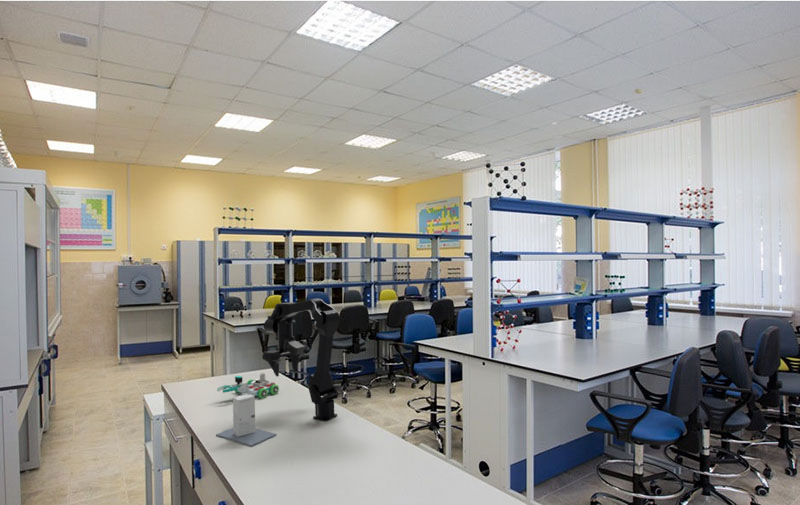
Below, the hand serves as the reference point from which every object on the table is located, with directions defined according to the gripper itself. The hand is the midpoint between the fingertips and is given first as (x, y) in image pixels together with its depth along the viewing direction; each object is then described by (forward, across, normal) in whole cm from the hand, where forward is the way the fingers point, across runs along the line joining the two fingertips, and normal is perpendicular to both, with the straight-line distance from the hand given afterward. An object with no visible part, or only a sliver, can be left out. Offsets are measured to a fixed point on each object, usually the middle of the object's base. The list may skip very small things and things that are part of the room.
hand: (286, 373), depth 177 cm
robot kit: (+14, +2, +26) cm, 30 cm away
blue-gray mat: (+13, -28, -10) cm, 32 cm away
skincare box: (+13, -27, -9) cm, 31 cm away
